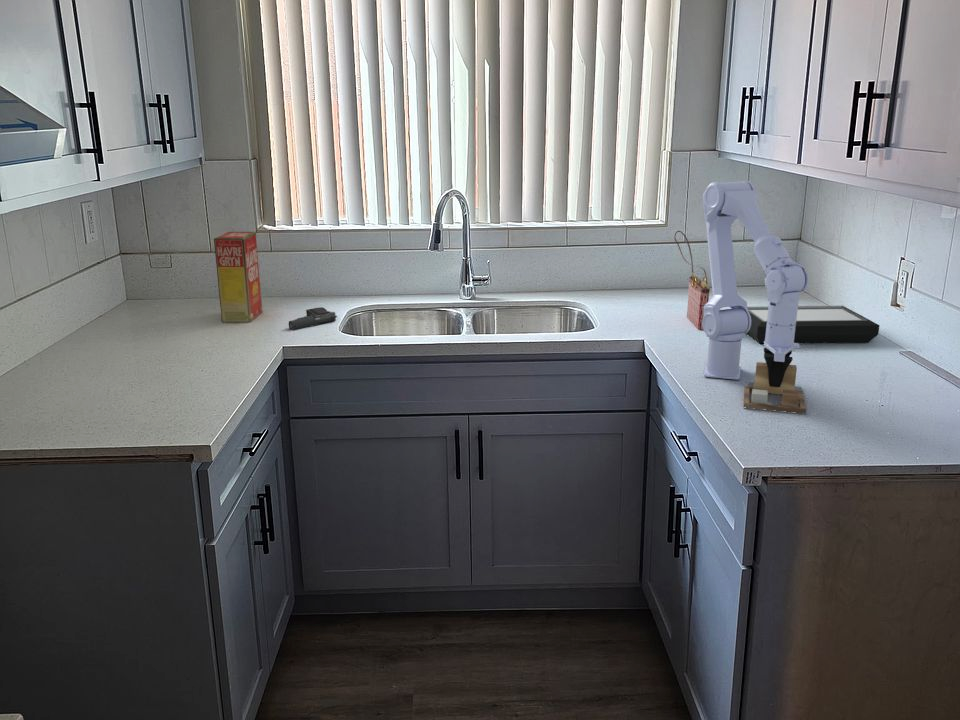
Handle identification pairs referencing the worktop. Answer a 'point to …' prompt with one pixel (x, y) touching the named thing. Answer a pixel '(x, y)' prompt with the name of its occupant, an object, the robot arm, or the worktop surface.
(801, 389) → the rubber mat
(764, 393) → the offcut grey
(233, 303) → the food packaging
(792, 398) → the offcut dark
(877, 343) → the worktop surface
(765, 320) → the electronic device
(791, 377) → the oak board
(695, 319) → the handbag
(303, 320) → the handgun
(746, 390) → the frame
